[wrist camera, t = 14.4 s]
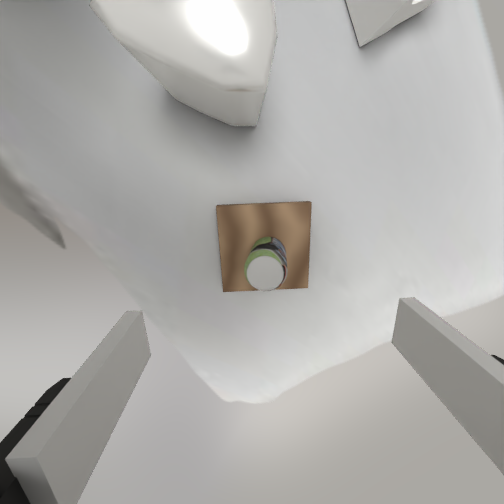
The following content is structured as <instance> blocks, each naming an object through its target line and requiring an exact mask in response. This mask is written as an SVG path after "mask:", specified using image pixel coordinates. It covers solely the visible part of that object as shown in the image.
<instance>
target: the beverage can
mask: <svg viewBox="0 0 504 504" xmlns="http://www.w3.org/2000/svg"><path fill="white" fill-rule="evenodd" d="M287 272H288V269H287V259H286V250H285V247H284V245H283V244H282V242H281V241H279V240H278V239H276V238H274V237H263V238H261V239H259V240H257V241H256V242H255V244H254V245H253V247H252V249H251V251H250V254H249V256H248V258H247V260H246V262H245V266H244V274H245V277H246V279H247V281H248V282H249V284H250V285H251V286H253V287H254V288H256V289H258V290H261V291H271V290H274V289H276V288H278V287H280V286H281V285H282V284H283V282H284V281H285V279H286V277H287Z"/></svg>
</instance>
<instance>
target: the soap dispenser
mask: <svg viewBox="0 0 504 504" xmlns="http://www.w3.org/2000/svg"><path fill="white" fill-rule="evenodd" d="M89 6H90V7H91V8H92V10H93V11H94V12H95V13H96V15H97V16H98V17H99V18H100V20H101V21H102V22H103V23H104V25H105V26H106V27H107V28H108V30H109V31H110V32H111V33H112V35H113V36H114V37H115V38H116V39H117V40H118V41H119V42H120V43H121V44H122V45H123V46H124V47H125V48H126V49H127V50H128V51H129V52H130V53H131V54H132V55H133V56H134V57H135V58H136V59H137V60H138V62H139V63H140V64H141V65H142V66H143V67H144V68H145V69H146V70H147V71H148V72H149V73H150V74H151V75H152V76H153V77H154V78H155V79H156V80H157V81H158V82H159V83H160V84H161V85H162V86H163V87H164V88H165V89H166V90H167V91H168V92H169V93H170V94H171V95H172V96H173V97H174V98H175V99H176V100H177V101H179V102H181V103H183V104H185V105H187V106H189V107H191V108H193V109H195V110H197V111H199V112H201V113H203V114H205V115H208V116H210V117H212V118H215V119H217V120H219V121H222V122H224V123H226V124H229V125H231V126H256V125H257V122H258V119H259V115H260V112H261V108H262V105H263V101H264V98H265V94H266V91H267V87H268V82H269V77H270V72H271V67H272V62H273V57H274V52H275V47H276V42H277V26H276V16H275V5H274V0H91V3H90V5H89Z"/></svg>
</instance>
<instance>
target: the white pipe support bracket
mask: <svg viewBox="0 0 504 504" xmlns="http://www.w3.org/2000/svg"><path fill="white" fill-rule="evenodd" d="M434 1H435V0H346V3H347V6H348V10H349V13H350V16H351V20H352V23H353V26H354V30H355V33H356V36H357V40H358V43H359V46H360V47H361V46H363V45H365V44H367V43H368V42H370V41H372V40H374V39H376V38H377V37H379V36H381V35H383V34H385V33H386V32H388V31H390V30H391V29H392V28H393V27H394V26H396V25H397V24H399V23H401V22H403V21H405V20H406V19H408V18H410V17H412V16H414V15H415V14H417V13H419V12H421V11H423V10H424V9H426V8H427V7H428V6H429V5H430V4H431V3H433V2H434Z"/></svg>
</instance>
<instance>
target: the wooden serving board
mask: <svg viewBox="0 0 504 504" xmlns="http://www.w3.org/2000/svg"><path fill="white" fill-rule="evenodd" d="M311 203H312V202H310V201H303V202H279V203H254V204H230V205H217V206H216V211H217V223H218V235H219V247H220V259H221V271H222V283H223V292H233V291H254V290H258V289H256V288H254V287H253V286H251V285H250V284H249V282H248V281H247V279H246V277H245V274H244V266H245V262H246V260H247V258H248V256H249V254H250V251H251V249H252V247H253V245H254V244H255V242H256V241H257V240H259V239H261V238H263V237H274V238H276V239H278V240H279V241H281V242H282V244H283V245H284V247H285V250H286V259H287V269H288V272H287V277H286V279H285V281H284V282H283V284H282V285H281V286H280V287H278V288H276V289H297V288H308V275H309V251H310V227H311ZM274 290H275V289H274Z"/></svg>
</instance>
